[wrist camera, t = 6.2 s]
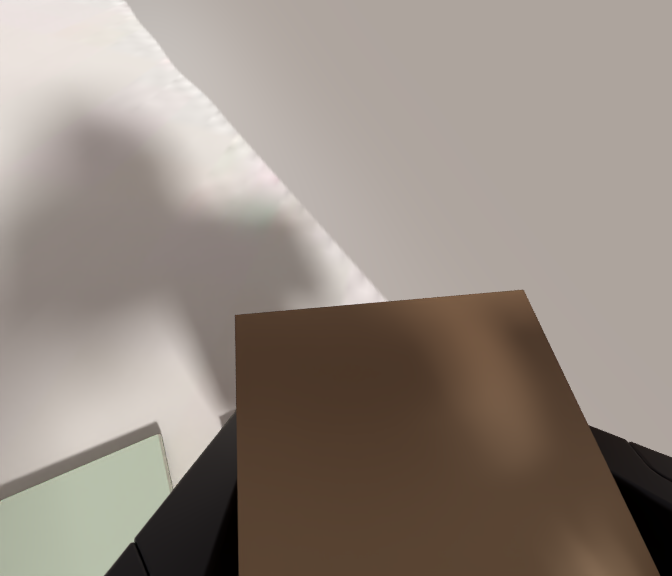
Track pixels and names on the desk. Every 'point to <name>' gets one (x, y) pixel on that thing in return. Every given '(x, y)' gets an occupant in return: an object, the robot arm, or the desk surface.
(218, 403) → the desk surface
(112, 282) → the desk surface
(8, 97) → the desk surface
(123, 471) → the sage plate
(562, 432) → the walnut block
